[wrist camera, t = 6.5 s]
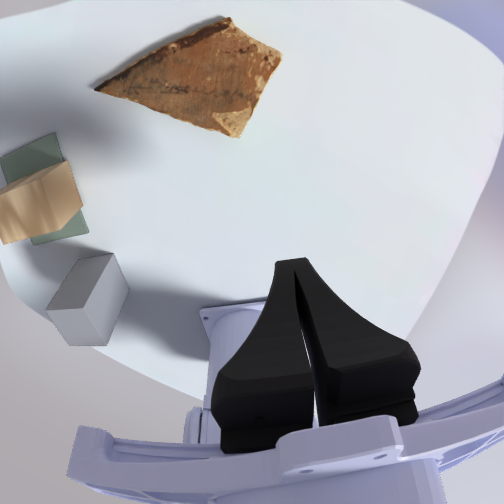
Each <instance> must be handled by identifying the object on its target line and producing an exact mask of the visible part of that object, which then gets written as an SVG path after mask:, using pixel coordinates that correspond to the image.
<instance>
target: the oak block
mask: <svg viewBox="0 0 504 504" xmlns="http://www.w3.org/2000/svg"><path fill="white" fill-rule="evenodd" d="M82 206H83V203H82V200H81V198H80V195H79V192H78V189H77V187H76V184H75V181H74V178H73V175H72V172H71V169H70V166H69V162H68V160H66V161H64V162H61V163H58V164H55V165H53V166H50V167H48V168H45V169H42V170H40V171H37V172H35V173H32V174H30V175H28V176H25V177H23V178H20V179H18V180H16V181H14V182H11V183H10V184H9V185H7V186H6V187H4V188H3V189H2V190H0V238H1V240H2V243H3V245H4V244H8V243H12V242H15V241H19V240H23V239H27V238H30V237H34V236H38V235H42V234H46V233H50V232H54V231H58V230H61V229H62V228H63V227H64V225H65V224H66V223H67V222H68V221H69V220H70V219H71V218H72V217H73V216H74V215H75V214H76V213H77V212H78V211H79V210H80V208H81V207H82Z"/></svg>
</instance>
